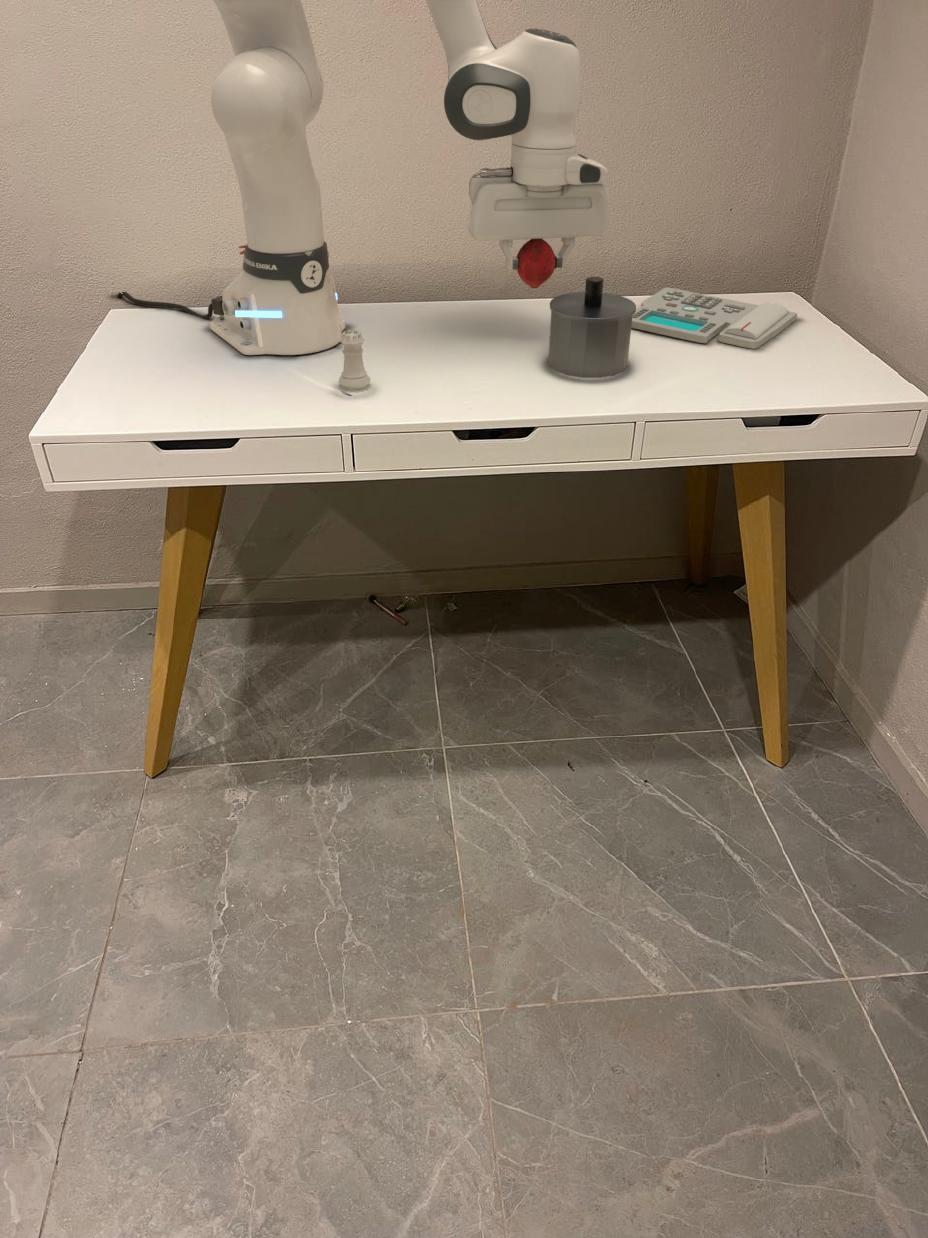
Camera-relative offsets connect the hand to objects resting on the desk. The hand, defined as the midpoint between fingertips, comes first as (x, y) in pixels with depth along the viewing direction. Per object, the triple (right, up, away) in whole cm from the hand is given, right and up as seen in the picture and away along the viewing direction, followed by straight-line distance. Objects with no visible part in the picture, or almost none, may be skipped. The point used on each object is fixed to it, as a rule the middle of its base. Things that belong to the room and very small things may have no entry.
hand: (535, 269), depth 142 cm
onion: (0, -2, +2) cm, 3 cm away
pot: (+7, -15, -2) cm, 17 cm away
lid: (+8, -8, -7) cm, 13 cm away
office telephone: (+29, -3, +15) cm, 32 cm away
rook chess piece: (-25, -20, -9) cm, 34 cm away
